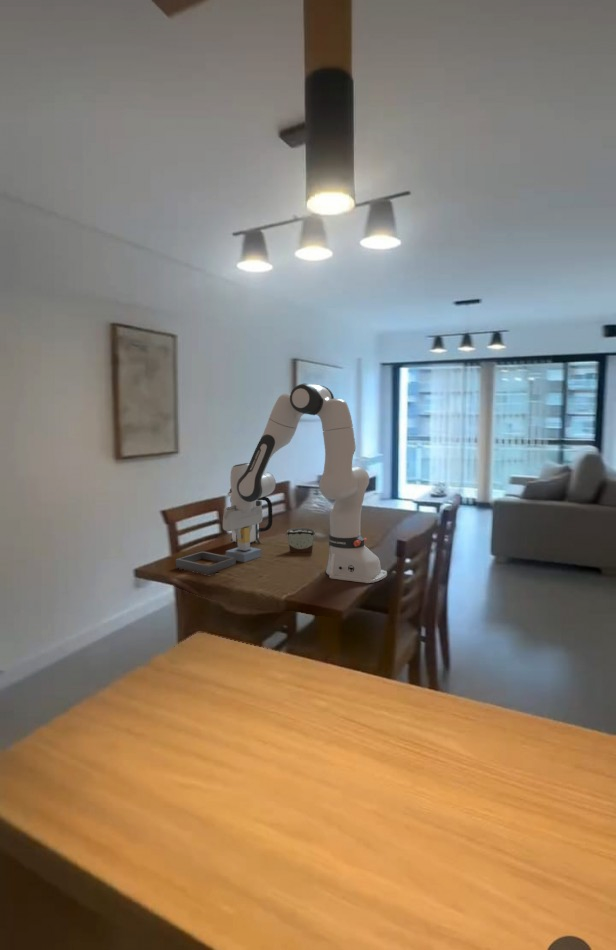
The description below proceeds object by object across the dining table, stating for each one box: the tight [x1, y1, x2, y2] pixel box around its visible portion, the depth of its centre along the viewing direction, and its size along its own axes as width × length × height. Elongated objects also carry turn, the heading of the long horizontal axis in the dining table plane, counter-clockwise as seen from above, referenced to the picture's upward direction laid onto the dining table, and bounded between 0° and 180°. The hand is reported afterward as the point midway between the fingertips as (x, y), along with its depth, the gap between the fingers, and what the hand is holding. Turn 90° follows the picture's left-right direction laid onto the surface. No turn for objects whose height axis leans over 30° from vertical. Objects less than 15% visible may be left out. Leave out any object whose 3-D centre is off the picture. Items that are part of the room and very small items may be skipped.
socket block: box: [225, 546, 262, 563], centre depth 221 cm, size 10×10×4 cm
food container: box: [285, 527, 316, 554], centre depth 231 cm, size 12×6×10 cm, turn 84°
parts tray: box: [175, 550, 237, 576], centre depth 211 cm, size 18×14×4 cm
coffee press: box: [226, 488, 273, 546], centre depth 247 cm, size 17×16×30 cm
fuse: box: [237, 527, 251, 551], centre depth 220 cm, size 4×3×9 cm
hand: (243, 537), depth 220 cm, fingers closed on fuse, 3 cm apart
